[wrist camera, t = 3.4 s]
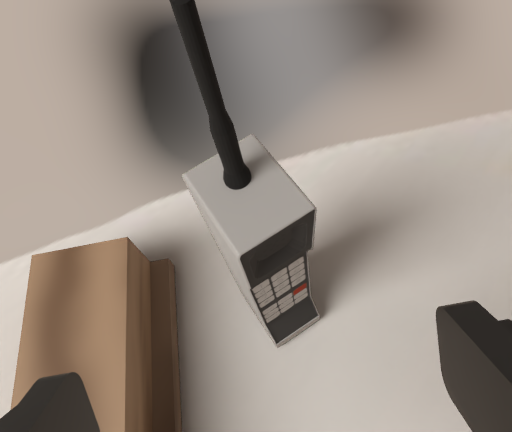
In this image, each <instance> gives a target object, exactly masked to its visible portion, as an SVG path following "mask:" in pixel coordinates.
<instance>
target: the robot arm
mask: <svg viewBox="0 0 512 432" xmlns="http://www.w3.org/2000/svg"><path fill="white" fill-rule="evenodd" d="M436 323H437V333H438V343H439V353H440V363H441V371H442V376H443V380H444V383H445V386H446V389H447V391H448V394H449V396H450V398H451V399H452V401H453V403H454V404H455V406H456V407H457V409H458V410H459V412H460V413H461V415H462V416H463V418H464V419H465V421H466V422H467V424H468V426H469V427H470V429H471V430H472V432H512V321H511V320H509V319H506V320H501V321H498V320H497V319H495V318H494V317H493V316H492V315H491V314H490V313H489V312H488V311H487V310H486V309H485V308H483V307H482V306H481V305H480V304H479V303H478V302H476V301H468V302H462V303H456V304H451V305H445V306H440V307H438V308H437V310H436ZM0 432H100V428H99V425H98V422H97V420H96V417H95V414H94V411H93V409H92V406H91V403H90V400H89V398H88V395H87V392H86V389H85V387H84V384H83V381H82V379H81V377H80V376H79V374H77V373H76V372H70V373H64V374H59V375H53V376H48V377H42V378H39V379H38V380H37V381H36V382H35V383H34V384H33V386H32V387H31V388H30V389H29V391H28V392H27V393H26V395H25V396H24V397H23V398H22V400H21V401H20V402H19V404H18V405H17V406H15V407H14V408H13V409H12V410H10V411H9V412H8V413H7V414H6V415H4V416H3V417H2V418H1V419H0Z"/></svg>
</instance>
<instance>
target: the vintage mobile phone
mask: <svg viewBox="0 0 512 432" xmlns="http://www.w3.org/2000/svg"><path fill="white" fill-rule="evenodd" d="M170 3H171V6H172V9H173V12H174V15H175V18H176V21H177V24H178V27H179V29H180V33H181V36H182V38H183V41H184V44H185V47H186V50H187V53H188V56H189V59H190V62H191V65H192V68H193V71H194V74H195V76H196V79H197V82H198V85H199V88H200V91H201V94H202V97H203V100H204V103H205V106H206V109H207V112H208V115H209V123H210V131H211V134H212V137H213V139H214V142H215V145H216V148H217V151H218V154H216V155H215V156H213V157H211V158H209V159H208V160H206V161H204V162H203V163H201V164H199V165H197V166H196V167H194V168H192V169H191V170H189V171H187V172H186V173H184V174H183V175H182V177H183V179H184V181H185V183H186V185H187V187H188V189H189V191H190V193H191V195H192V197H193V199H194V201H195V203H196V205H197V207H198V209H199V211H200V213H201V215H202V217H203V219H204V220H205V222H206V224H207V226H208V228H209V230H210V232H211V234H212V236H213V238H214V240H215V242H216V244H217V246H218V248H219V250H220V252H221V254H222V255H223V257H224V259H225V261H226V263H227V265H228V267H229V269H230V271H231V273H232V275H233V277H234V279H235V281H236V283H237V285H238V287H239V289H240V291H241V292H242V294H243V296H244V297H245V299H246V300H247V302H248V304H249V305H250V307H251V308H252V310H253V311H254V313H255V314H256V316H257V318H258V319H259V321H260V322H261V324H262V325H263V327H264V328H265V330H266V332H267V333H268V335H269V336H270V338H271V339H272V341H273V342H274V344H275V346H276V347H277V348H278V347H280V346H281V345H283V344H284V343H286V342H287V341H289V340H290V339H292V338H293V337H295V336H296V335H297V334H299V333H300V332H302V331H303V330H305V329H306V328H308V327H309V326H311V325H312V324H314V323H315V322H316V321H318V320H319V319H320V315H319V313H318V310H317V308H316V306H315V304H314V301H313V299H312V297H311V289H310V276H309V263H308V250H312V249H313V243H314V232H315V221H316V207H315V206H314V205H313V203H312V202H311V201H310V200H309V199H308V198H307V196H306V195H305V194H304V193H303V192H302V191H301V189H300V188H299V187H298V186H297V185H296V184H295V182H294V181H293V180H292V179H291V178H290V176H289V175H288V174H287V173H286V172H285V171H284V169H283V168H282V167H281V166H280V165H279V164H278V162H277V161H276V160H275V159H274V158H273V157H272V156H271V154H270V153H269V152H268V151H267V150H266V148H265V147H264V146H263V145H262V144H261V142H260V141H259V140H258V139H257V138H256V137H255V135H254V134H251V135H249V136H247V137H246V138H244V139H242V140H240V141H239V142H238V140H237V136H236V133H235V129H234V125H233V123H232V121H231V119H230V117H229V115H228V113H227V111H226V109H225V106H224V102H223V99H222V95H221V92H220V88H219V85H218V81H217V78H216V74H215V71H214V67H213V64H212V61H211V57H210V53H209V50H208V47H207V43H206V39H205V36H204V32H203V29H202V26H201V22H200V19H199V15H198V11H197V8H196V4H195V1H194V0H170Z"/></svg>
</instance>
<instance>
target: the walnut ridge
mask: <svg viewBox="0 0 512 432" xmlns="http://www.w3.org/2000/svg"><path fill="white" fill-rule="evenodd" d="M70 372H76V373H77V374H79V376H80V377H81V379H82V381H83V384H84V387H85V389H86V392H87V395H88V398H89V400H90V403H91V406H92V409H93V411H94V414H95V417H96V420H97V422H98V425H99V428H100V432H182V421H181V400H180V378H179V357H178V336H177V314H176V293H175V271H174V265H173V264H172V262H171V261H170V260H169V259H163V260H158V261H153V262H150V261H149V260H148V259H147V258H146V257H145V256H144V255H143V254H142V253H141V251H140V250H139V249H138V248H137V247H136V246H135V245H134V244H133V243H132V242H131V240H130V239H129V238H128V237H125V238H120V239H115V240H110V241H104V242H99V243H94V244H89V245H84V246H78V247H73V248H68V249H63V250H58V251H52V252H47V253H42V254H37V255H32V259H31V266H30V273H29V281H28V288H27V295H26V302H25V310H24V317H23V324H22V331H21V339H20V346H19V353H18V360H17V368H16V375H15V382H14V389H13V397H12V404H11V410H12V409H13V408H14V407H15V406H17V405H18V404H19V402H20V401H21V400H22V398H23V397H24V396H25V395H26V393H27V392H28V391H29V389H30V388H31V387H32V386H33V384H34V383H35V382H36V381H37V380H38V379H39V378H42V377H48V376H53V375H59V374H64V373H70Z"/></svg>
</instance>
